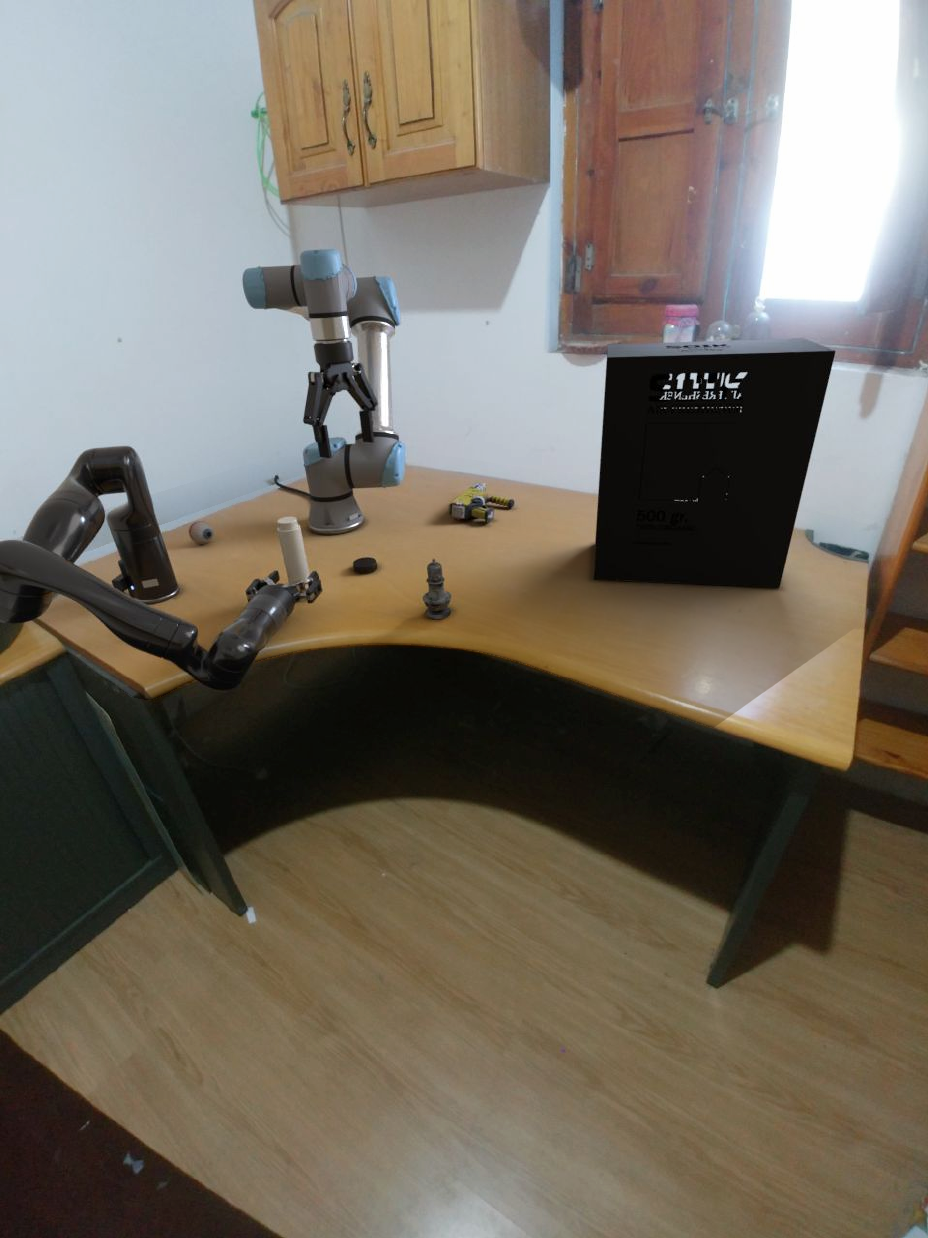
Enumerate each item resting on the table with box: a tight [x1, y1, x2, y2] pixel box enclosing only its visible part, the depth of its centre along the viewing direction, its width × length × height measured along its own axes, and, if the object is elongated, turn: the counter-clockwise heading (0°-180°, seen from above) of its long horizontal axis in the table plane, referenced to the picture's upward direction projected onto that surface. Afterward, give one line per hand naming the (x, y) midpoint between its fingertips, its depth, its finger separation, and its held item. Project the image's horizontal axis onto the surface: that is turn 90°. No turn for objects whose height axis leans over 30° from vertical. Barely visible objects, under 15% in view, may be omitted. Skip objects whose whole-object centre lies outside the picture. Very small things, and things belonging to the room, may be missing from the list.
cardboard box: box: [592, 337, 836, 589], centre depth 125 cm, size 38×20×45 cm, turn 78°
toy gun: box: [448, 481, 515, 523], centre depth 173 cm, size 5×24×15 cm
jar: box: [276, 516, 311, 602], centre depth 128 cm, size 5×5×18 cm
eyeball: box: [188, 520, 214, 545], centre depth 161 cm, size 6×6×6 cm
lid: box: [352, 556, 378, 575], centre depth 143 cm, size 6×6×2 cm
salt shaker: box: [422, 558, 453, 620], centre depth 120 cm, size 6×6×12 cm
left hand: (296, 574), depth 129 cm, fingers open, 8 cm apart
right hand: (348, 449), depth 129 cm, fingers open, 13 cm apart
